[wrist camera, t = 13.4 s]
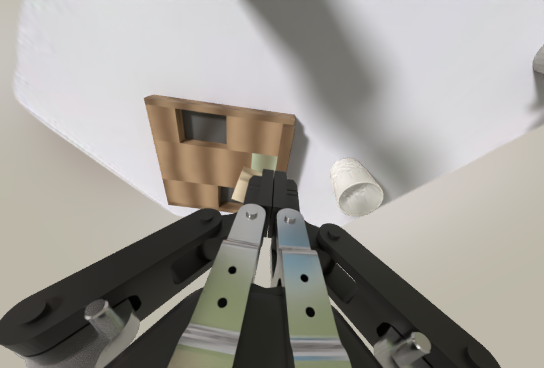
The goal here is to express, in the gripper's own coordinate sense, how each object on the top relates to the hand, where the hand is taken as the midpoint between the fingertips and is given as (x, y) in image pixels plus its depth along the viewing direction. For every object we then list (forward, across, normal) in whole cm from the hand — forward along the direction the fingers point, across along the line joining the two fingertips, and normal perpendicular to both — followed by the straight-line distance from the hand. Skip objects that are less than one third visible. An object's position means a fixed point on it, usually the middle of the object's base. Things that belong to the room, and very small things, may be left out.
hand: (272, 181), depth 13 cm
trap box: (+27, +10, +15) cm, 32 cm away
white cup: (+27, -17, +13) cm, 35 cm away
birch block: (+24, +4, +16) cm, 29 cm away
